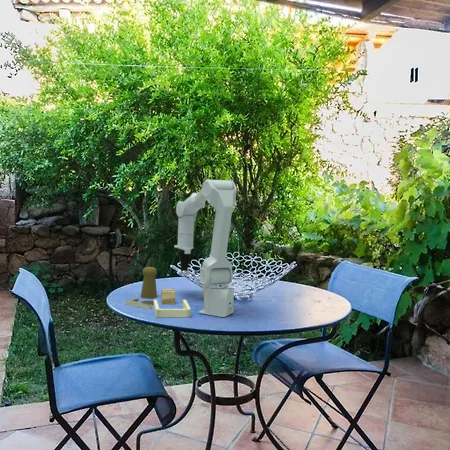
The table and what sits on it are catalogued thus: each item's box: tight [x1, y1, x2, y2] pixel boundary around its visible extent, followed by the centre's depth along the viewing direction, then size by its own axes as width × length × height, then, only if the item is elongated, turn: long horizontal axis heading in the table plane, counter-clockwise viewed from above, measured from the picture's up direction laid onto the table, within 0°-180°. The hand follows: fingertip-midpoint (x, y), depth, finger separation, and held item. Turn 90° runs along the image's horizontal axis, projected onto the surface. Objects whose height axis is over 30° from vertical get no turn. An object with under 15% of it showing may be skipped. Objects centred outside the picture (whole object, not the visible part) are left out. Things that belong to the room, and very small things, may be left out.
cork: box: [140, 266, 158, 300], centre depth 184 cm, size 6×6×11 cm
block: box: [160, 288, 176, 305], centre depth 176 cm, size 4×4×4 cm
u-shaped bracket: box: [152, 299, 192, 319], centre depth 165 cm, size 13×11×2 cm
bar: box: [124, 297, 153, 310], centre depth 171 cm, size 10×6×2 cm, turn 63°
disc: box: [141, 300, 154, 306], centre depth 174 cm, size 6×6×1 cm
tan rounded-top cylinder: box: [202, 285, 205, 301], centre depth 185 cm, size 5×5×5 cm
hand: (184, 270), depth 186 cm, fingers closed
